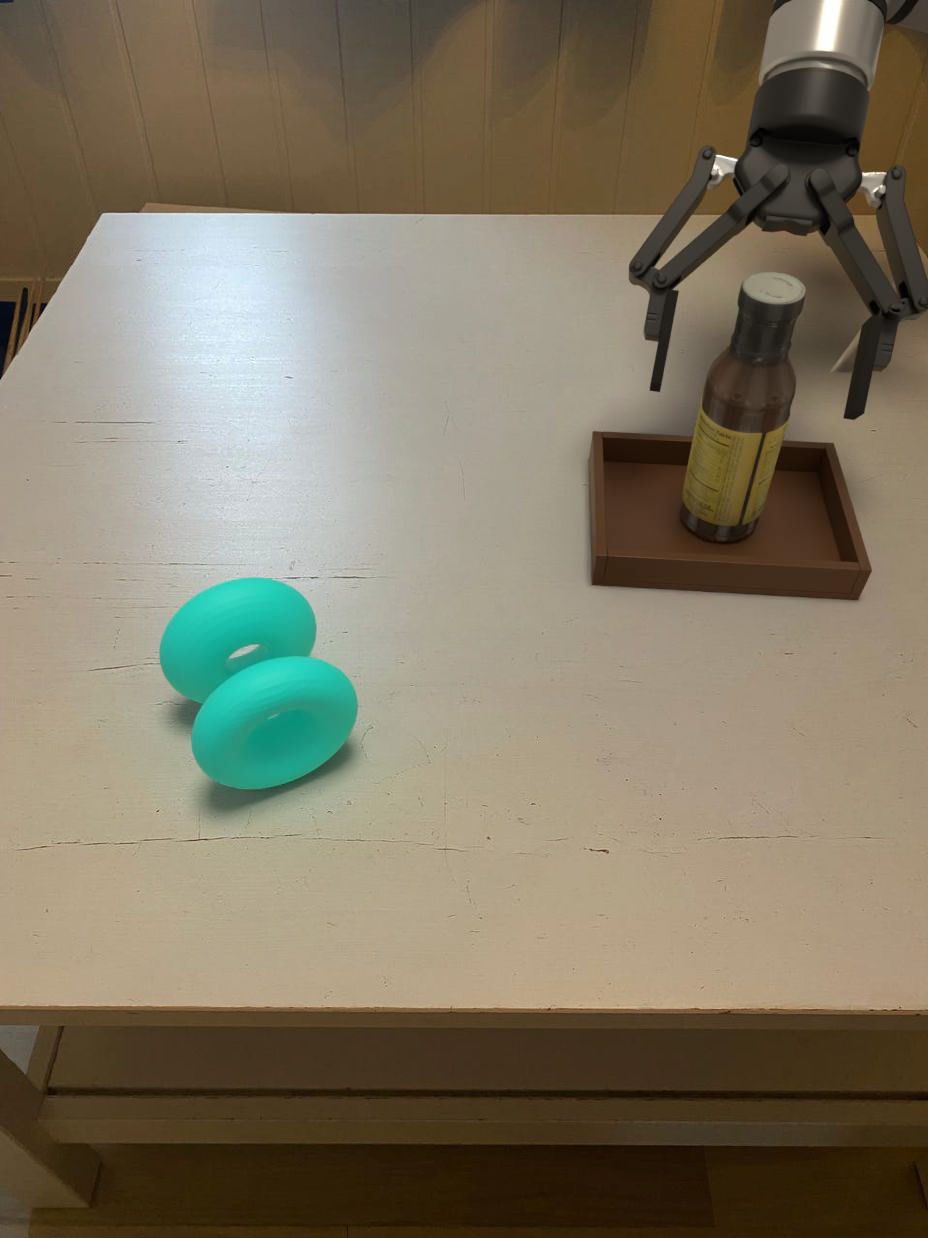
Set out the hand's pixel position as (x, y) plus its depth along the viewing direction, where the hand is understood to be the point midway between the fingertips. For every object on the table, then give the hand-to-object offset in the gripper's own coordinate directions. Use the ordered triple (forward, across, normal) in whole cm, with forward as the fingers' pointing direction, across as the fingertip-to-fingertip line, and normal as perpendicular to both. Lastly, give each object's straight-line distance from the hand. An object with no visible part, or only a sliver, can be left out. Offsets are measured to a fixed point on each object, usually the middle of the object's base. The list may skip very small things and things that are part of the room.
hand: (752, 402), depth 66 cm
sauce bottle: (+8, 0, -8) cm, 11 cm away
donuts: (+27, +27, +11) cm, 40 cm away
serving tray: (+8, 0, -8) cm, 12 cm away
